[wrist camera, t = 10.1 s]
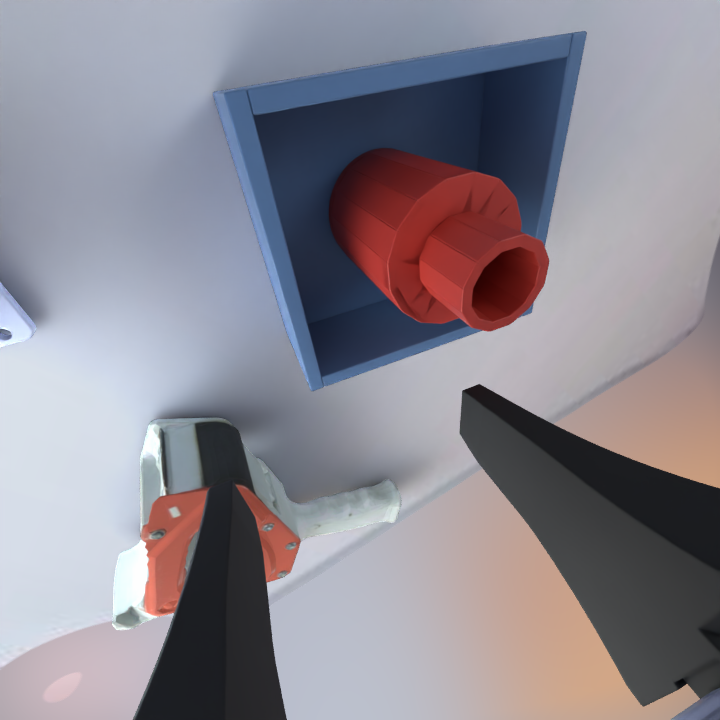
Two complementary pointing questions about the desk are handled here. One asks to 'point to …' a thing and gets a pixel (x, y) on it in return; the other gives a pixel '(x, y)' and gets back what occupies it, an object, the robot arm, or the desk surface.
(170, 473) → the tape dispenser
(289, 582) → the desk surface
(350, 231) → the bottle
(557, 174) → the tub
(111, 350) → the desk surface
